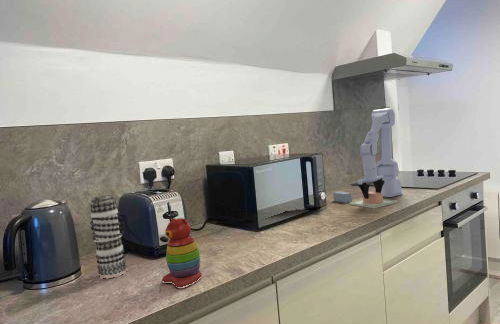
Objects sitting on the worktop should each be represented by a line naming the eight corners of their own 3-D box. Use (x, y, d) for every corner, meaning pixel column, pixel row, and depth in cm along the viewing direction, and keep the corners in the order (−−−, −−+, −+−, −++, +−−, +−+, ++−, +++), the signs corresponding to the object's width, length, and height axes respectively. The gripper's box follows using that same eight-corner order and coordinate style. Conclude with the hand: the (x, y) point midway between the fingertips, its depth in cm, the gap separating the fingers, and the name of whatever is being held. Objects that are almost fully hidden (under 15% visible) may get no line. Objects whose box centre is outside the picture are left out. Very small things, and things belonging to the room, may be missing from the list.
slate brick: (340, 199, 196) (339, 191, 196) (351, 201, 188) (351, 192, 188) (334, 201, 194) (333, 192, 194) (345, 203, 186) (344, 194, 186)
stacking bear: (159, 282, 107) (151, 221, 106) (188, 270, 114) (181, 213, 113) (180, 290, 99) (172, 224, 98) (210, 277, 106) (203, 215, 105)
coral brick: (369, 200, 182) (368, 191, 182) (383, 202, 174) (382, 192, 174) (363, 201, 181) (362, 192, 180) (376, 204, 173) (376, 194, 172)
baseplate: (372, 198, 188) (372, 197, 188) (398, 202, 174) (397, 200, 173) (349, 204, 181) (349, 202, 181) (373, 208, 167) (373, 206, 167)
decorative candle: (133, 271, 119) (122, 194, 117) (104, 282, 113) (92, 200, 111) (121, 266, 125) (110, 193, 124) (93, 276, 119) (81, 198, 117)
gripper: (375, 166, 183) (377, 193, 184) (352, 170, 177) (354, 199, 178) (386, 166, 177) (388, 195, 178) (362, 171, 170) (365, 200, 171)
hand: (372, 197), depth 177 cm, fingers open, 7 cm apart
